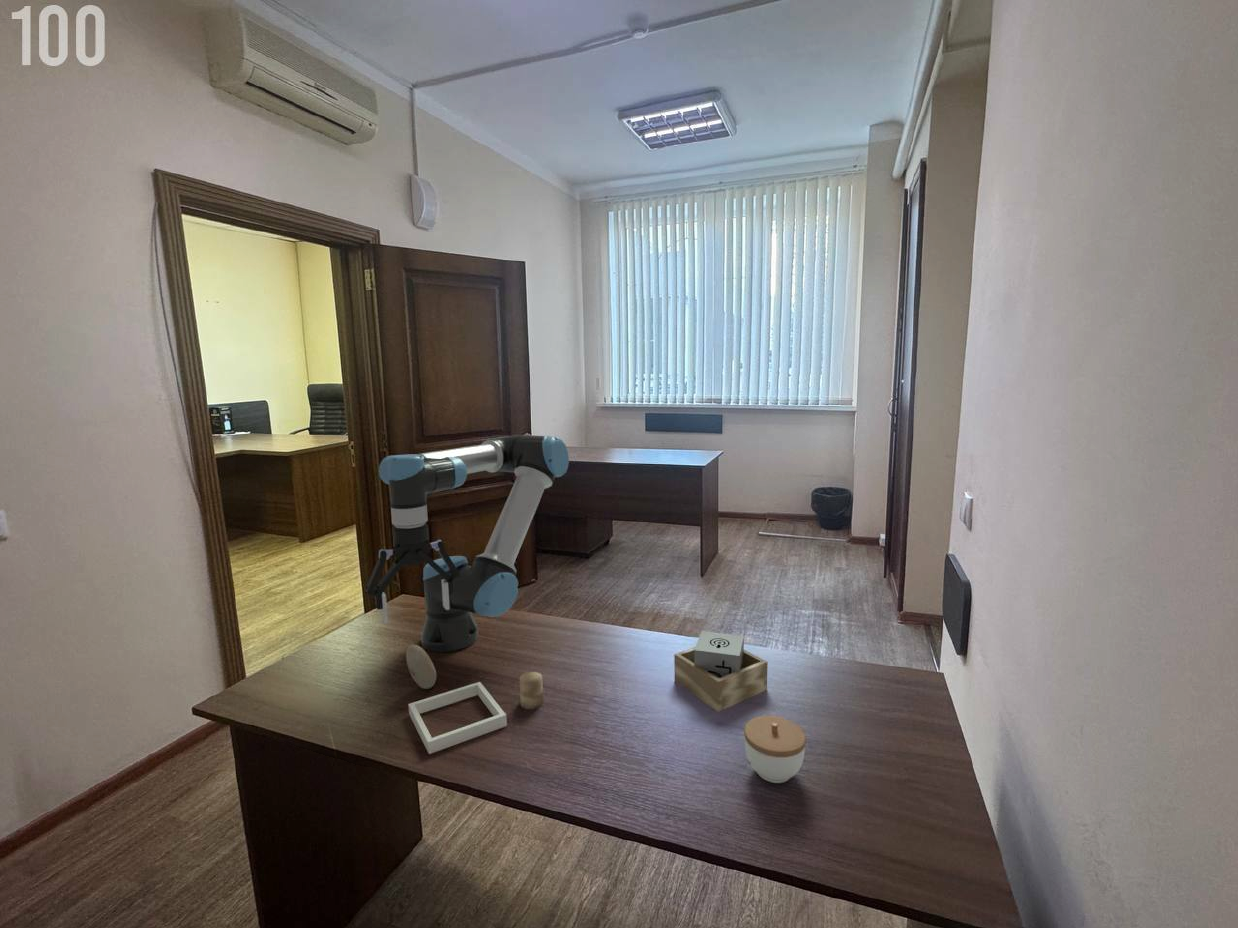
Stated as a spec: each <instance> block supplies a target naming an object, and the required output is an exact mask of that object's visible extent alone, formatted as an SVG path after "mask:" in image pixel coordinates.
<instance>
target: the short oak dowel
mask: <svg viewBox="0 0 1238 928" xmlns="http://www.w3.org/2000/svg"><path fill="white" fill-rule="evenodd" d="M543 691H544V689H543V675H542V673H540V672H537V671H528V672H524V673H523V674H522V675H520V676H519V697H520V700H519V701H520V706H521V707H522V708H524V709H526V710H534V709H535V710H536V709H538V708H540V707H542V705H543V704H544V692H543Z"/></svg>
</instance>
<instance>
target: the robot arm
mask: <svg viewBox="0 0 1238 928" xmlns="http://www.w3.org/2000/svg"><path fill="white" fill-rule="evenodd" d="M569 460H570V457H569V451H568V447H567V445H566V443H565V441H564V440H563V439H561V438H560V437H559V436H552V435H547V434H546V435H532V434H531V435H530V434H529V435H528V434H527V435H526V434H513V435H509V436H508V435H507V436H504V437H502V436H501V437H498V438H494V439H487V440H484V441H483V442H482V443H481V444H478V445H476V444H475V445H469V446H464V447H463V446H462V447H457V448H450V449H449V448H448V449H442V450H436V451H435V450H433V451H429V452H428V451H427V452H422V453H417V454H416V453H414V454H412V453H410V454H409V453H408V454H395V455H388V456H386V457H385V458H383V459H382V461H381V462H380V464H379V466H378V475H379V477H380V480H382V482H383V483H385V484H386V485H388V490H389V499H390V500H389V501H390V512H391V513H390V515H391V524H392V525H393V527H392V528H391V529H392V541H393V542H392V543H393V546H392V549H384V548H379V549H378V555H377V556H378V557H377V561H376V563H375V565H374V568H373V570H372V573H371V575H370V577H369V579H368V581H367V583H366V586H365V592H366V594H367V595H368V596H374V600H375V607H376V609H377V610H380V612H381V621H382V623H383V624H384V625H387V624H389V618H388V606H387V595H386V593H385V590H386V589H387V588H388V587H389V585H390V584H391V583H392V581H393V579H394V578H395V577H396V575H398V573H399V572H400V571H401V570H402V568H403V567H407V568H408V567H412V566H414V565H416V566H418V565H422V563H424V562H425V563H426V564H425V566H424V567H423V569H422V571H423V573H422V574H423V577H422V581H423V582H422V583H423V592H424V603H425V604H424V605H425V614H426V615H425V619H424V624H423V628H422V631H421V635H420V640H421V641H420V642H421V648H422V649H423V650H426V651H429V652H433V653H434V652H435V653H448V652H449V653H451V652H454V651H460V650H462V649H465V648H467V647H469V646H471V645H473V644H474V643H475V642H477V640H478V638H479V629H478V626H477V623H476V621H475V619H474V616H473V614H477V615H479V616H482V617H492V618H493V617H495V618H497V617H500V616H502V615H503V614H505V613H507V612H508V611H509V610H510V609H511V608H512V607H513V605H514V603H515V602H516V599H517V597H518V593H519V588H518V587H519V581H518V578H517V577H516V575H517V569H516V567H515V562H516V559H517V557H518V555H519V553H520V549H521V547H522V545H523V543H524V540H525V538H526V535H527V534H528V530H529V527H530V526H531V524H532V521H533V518H534V516H535V514H536V511H537V509H538V507H539V504H540V501H541V498H542V496H543V494H544V491H545V489H546V490H547V489H548V488H550V487H552V486H553V483H554V481H555V478H560V477H562V476H564V475H565V474H566V473H567V471H568V468H569V463H570V461H569ZM484 471H486V472H488V473H496V472H505V473H514V474H515V476H516V478H515V481H514V482H513V484H512V485H513V486H512V488H511V490H510V493H509V495H508V497H507V499H506V501H505V503H504V506H503V508H502V511H501V513H500V514H499V517H498V520H497V521H496V524H495V526H494V529H493V531H492V534H491V536H490V538H489V540H488V543H487V544H486V547H485V548H484V549H485V550H484V552H482V553H481V554H477V555H476V556H475V558H474V559H473V563H472V565H468V563H469V562H468V560H467V559H468V558H467V557H466V556H463V555H452V556H449V554H448V553H447V551H446V548H445V542H443V541H442V540H441V539H439V538H438V539H436V540H435V541H432V542H430V534H429V532H430V531H429V524H428V523H427V522H428V521H429V519H428V504H427V503H428V502H427V495H428V494H433V493H438V492H442V491H449V490H453V489H455V488H459V487H460V486H462V485H464V483H465V482H466V479H467V476H468V475H469V474H474V473H478V472H484ZM432 549H433V550H435V551H436V552H437V553H438V554H439V555H440V557H441V558H437V559H434V560H433V559H432V558H431V557H430V556H428V555H429V554H430V552H431V550H432ZM391 556H393V557H394V558H395V559H394V560H393V562H392V563H391V566H390V567H389V569H388V570H387V571H386V573H385V574H384V576H382V578H381V575H382V573H383V570H384V567H385V566H386V563H387V561H388V560H389V559H390V557H391ZM380 578H381V579H380ZM379 580H380V581H379ZM472 613H473V614H472Z"/></svg>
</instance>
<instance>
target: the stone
mask: <svg viewBox="0 0 1238 928" xmlns="http://www.w3.org/2000/svg"><path fill="white" fill-rule="evenodd" d="M405 651H406V652H405V658H406V659H405V660H406V665H407V669H408V671H409V674H410V675H411V677H412V680H413V681H414V682H415V683H416V685H418V686H419V687H420V688H421V689H424V690H429V689H431V688H433V686H434V685H435V683H436V681H437V677H438V676H437V671H436V667H435V666H434V663H433V661H432V659H431V658H430V656H429V654H428V653H427V652H426V651H425V649H424V648H423V647H422V646H419V645H418V644H411V645H409V646H408V647H407V648H406V650H405Z"/></svg>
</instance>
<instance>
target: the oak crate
mask: <svg viewBox="0 0 1238 928" xmlns="http://www.w3.org/2000/svg"><path fill="white" fill-rule="evenodd" d="M695 647H696V646H695ZM695 647H692V648H688V649H685V650H683V651H679V652H677V653H674V656H673V657H674V660H673V661H674V682H675V683H677V684H678V685H679V686H681V687H682V688H683V689H684V690H686V691H688V692H689V693H690V694H692V695H693V696H695V697H696V698H697V699H699V700H700V701H702V703H703V702H704V703H705V704H706V705H707V706H709V707H710V708H711V709H713V710H715V711H716V712H717V713H719V712H722V711H724V710H726V709H729V708H730V707H732V706H735V705H737V704H738V703H742V702H744V701H746V700H749V698H752V697H755V696H756V695H759V694H761V693H763V692H766V691H767V690H768V663H769V662H768V661H767V660H764V659H763V658H761V657H759V656H758V655H755V654H754V653H751V652H750V651H748V650H745V649H744V653H743V669H741V670H740V671H739V672H737V671H736V672H734V673H731V674H729V675H726V676H724V677H721V678H717V677H715V676H714V675H712V674H711V673H709V672H707V671H706V670H704V669H703V668H701V667H699V666H694V649H695Z"/></svg>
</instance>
